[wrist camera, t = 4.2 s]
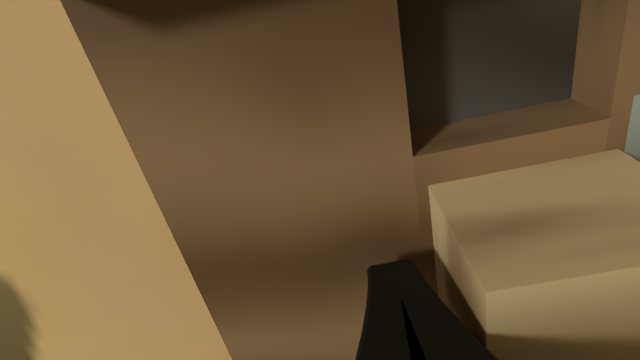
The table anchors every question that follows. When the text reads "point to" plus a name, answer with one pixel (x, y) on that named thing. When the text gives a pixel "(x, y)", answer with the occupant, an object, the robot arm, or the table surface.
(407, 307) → the robot arm
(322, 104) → the trap board
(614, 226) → the maple block
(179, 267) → the table surface
